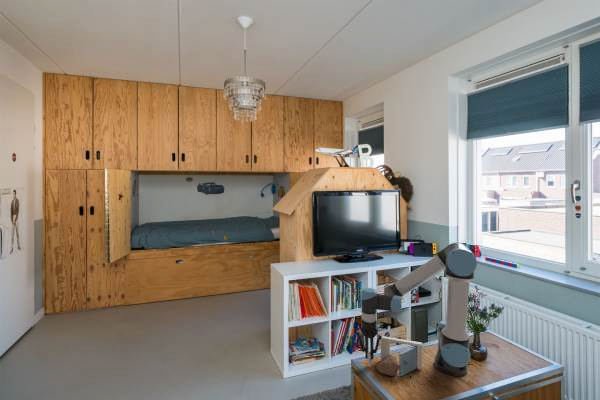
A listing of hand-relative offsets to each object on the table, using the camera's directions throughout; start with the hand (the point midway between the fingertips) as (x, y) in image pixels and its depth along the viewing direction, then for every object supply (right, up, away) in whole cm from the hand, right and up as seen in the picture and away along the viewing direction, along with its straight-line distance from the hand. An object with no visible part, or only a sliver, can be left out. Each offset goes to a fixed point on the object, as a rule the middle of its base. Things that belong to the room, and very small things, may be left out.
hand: (369, 364), depth 158 cm
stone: (+8, -2, -3) cm, 9 cm away
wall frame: (+16, -1, +2) cm, 16 cm away
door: (+19, -1, -5) cm, 20 cm away
